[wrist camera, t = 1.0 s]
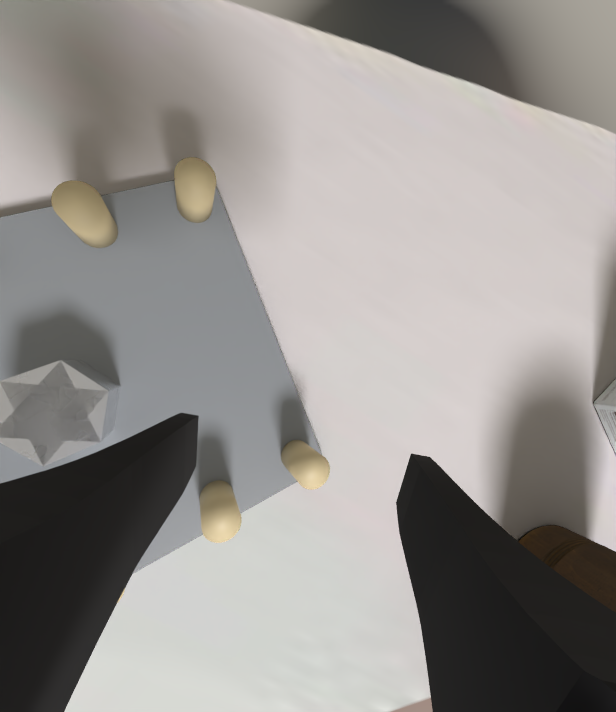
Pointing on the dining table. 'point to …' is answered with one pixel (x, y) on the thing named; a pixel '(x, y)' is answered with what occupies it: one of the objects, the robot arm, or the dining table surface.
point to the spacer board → (159, 339)
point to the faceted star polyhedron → (57, 410)
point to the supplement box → (608, 411)
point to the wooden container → (576, 560)
